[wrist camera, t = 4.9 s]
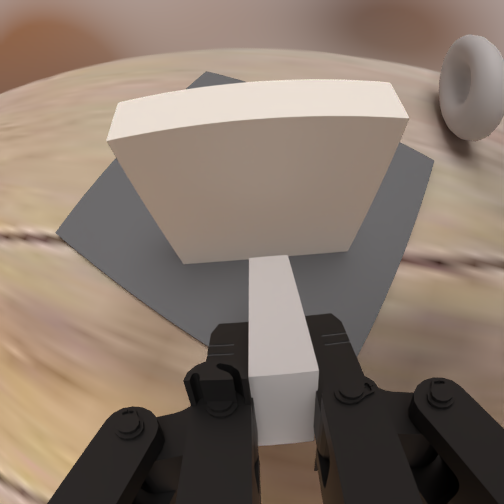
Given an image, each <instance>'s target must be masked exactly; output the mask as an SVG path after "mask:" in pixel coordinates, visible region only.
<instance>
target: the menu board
mask: <svg viewBox="0 0 504 504" xmlns="http://www.w3.org/2000/svg"><path fill="white" fill-rule="evenodd" d="M408 121H409V117H408V115H407V113H406V111H405V109H404V107H403V105H402V103H401V101H400V100H399V98H398V96H397V94H396V92H395V91H394V89H393V87H392V85H391V84H390V83H389V82H377V81H361V80H331V79H304V80H274V81H257V82H244V83H233V84H224V85H215V86H207V87H199V88H192V89H186V90H179V91H173V92H167V93H162V94H156V95H151V96H146V97H141V98H137V99H132V100H127V101H123V102H119V103H118V105H117V108H116V111H115V114H114V117H113V121H112V124H111V127H110V130H109V134H108V137H107V140H106V141H107V143H108V145H109V146H110V148H111V150H112V151H113V153H114V155H115V157H116V158H117V160H118V162H119V163H120V165H121V167H122V168H123V170H124V172H125V173H126V175H127V177H128V178H129V180H130V182H131V183H132V185H133V186H134V188H135V190H136V191H137V193H138V195H139V196H140V198H141V199H142V201H143V203H144V204H145V206H146V207H147V209H148V211H149V212H150V214H151V215H152V217H153V218H154V220H155V222H156V223H157V225H158V226H159V228H160V229H161V231H162V232H163V234H164V235H165V237H166V239H167V240H168V242H169V243H170V245H171V246H172V248H173V249H174V251H175V252H176V254H177V255H178V257H179V258H180V260H181V261H182V263H183V264H194V263H207V262H220V261H233V260H246V259H249V258H254V257H267V256H279V255H288V256H296V255H309V254H321V253H333V252H345V251H348V250H349V248H350V246H351V244H352V242H353V240H354V238H355V236H356V234H357V232H358V230H359V228H360V226H361V224H362V222H363V220H364V218H365V216H366V214H367V212H368V210H369V208H370V206H371V204H372V202H373V200H374V198H375V195H376V193H377V191H378V189H379V187H380V185H381V183H382V180H383V178H384V176H385V174H386V172H387V170H388V167H389V165H390V163H391V161H392V158H393V156H394V154H395V151H396V149H397V147H398V145H399V142H400V140H401V137H402V135H403V133H404V130H405V128H406V126H407V123H408Z"/></svg>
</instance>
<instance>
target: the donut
mask: <svg viewBox="0 0 504 504" xmlns="http://www.w3.org/2000/svg"><path fill="white" fill-rule="evenodd" d="M439 101H440V108H441V112H442V116H443V118H444V120H445V122H446V124H447V126H448V128H449V129H450V130H451V131H452V132H453V133H454V134H455V135H456V136H457V137H459V138H461V139H463V140H469V141H478V140H481V139H483V138H485V137H487V136H489V135H490V134H491V133H492V132H493V131H494V130H495V128H496V127H497V126H498V125H499V124H500V121H501V119H502V117H503V115H504V59H503V57H502V55H501V53H500V52H499V50H498V49H497V48H496V47H495V46H494V45H493V44H492V43H491V42H490V41H489V40H487V39H486V38H484V37H481V36H477V35H465V36H463V37H461V38H459V39H458V40H456V41H455V42H454V43H453V45H452V46H451V47H450V49H449V51H448V53H447V55H446V57H445V59H444V62H443V65H442V69H441V74H440V80H439Z"/></svg>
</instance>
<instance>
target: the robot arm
mask: <svg viewBox="0 0 504 504" xmlns="http://www.w3.org/2000/svg"><path fill="white" fill-rule="evenodd" d="M183 381H184V384H185V387H186V391H187V394H188V397H189V400H190V403H191V406H190V407H188V408H187V409H185V410H183V411H180V412H177V413H174V414H170V415H165V416H160V417H155V415H154V414H153V413H152V412H151V411H149V410H147V409H145V408H143V407H128V408H123V409H121V410H119V411H117V412H115V413H113V414H112V415H111V416H110V417H109V418H108V419H107V420H106V421H105V423H104V424H103V425H102V427H101V428H100V430H99V431H98V432H97V434H96V435H95V437H94V438H93V439H92V441H91V442H90V444H89V445H88V446H87V448H86V449H85V451H84V452H83V453H82V455H81V456H80V458H79V459H78V460H77V462H76V463H75V465H74V466H73V468H72V469H71V470H70V472H69V473H68V475H67V476H66V478H65V479H64V480H63V482H62V483H61V485H60V486H59V488H58V489H57V490H56V492H55V493H54V495H53V496H52V498H51V499H50V500H49V502H48V503H47V504H261V490H260V462H259V455H258V446H266V445H279V444H290V443H300V442H308V441H314V434H315V438H316V444H317V451H316V459H315V468H314V471H318V474H319V480H320V486H321V493H322V499H323V504H504V429H503V428H502V427H501V426H500V425H499V424H498V423H497V422H496V421H495V420H494V419H493V418H492V417H491V416H490V415H489V414H488V413H487V412H486V411H485V410H484V409H483V408H482V407H481V406H480V405H479V404H478V403H477V402H476V401H475V400H474V399H473V398H472V397H471V396H470V395H469V394H468V393H467V392H466V391H465V390H464V389H463V388H462V387H461V386H459V385H458V384H456V383H455V382H453V381H452V380H448V379H445V378H430V379H427V380H424V381H423V382H421V383H420V384H419V385H417V387H416V389H415V391H414V393H406V392H391V391H385V390H382V389H379V388H378V387H377V385H376V384H375V383H374V381H372V380H370V379H369V378H367V377H365V376H364V374H363V372H362V369H361V367H360V364H359V362H358V359H357V357H356V355H355V352H354V350H353V347H352V345H351V343H350V340H349V338H348V335H347V334H346V331H345V328H344V326H343V324H342V321H340V320H339V319H338V318H337V317H335V316H334V315H333V314H332V313H328V314H319V315H309V316H305V315H304V312H303V308H302V304H301V301H300V297H299V293H298V290H297V286H296V283H295V279H294V275H293V272H292V268H291V265H290V261H289V258H288V255H279V256H267V257H254V258H249V322H239V323H223V324H218V326H217V327H216V328H215V329H214V331H213V332H212V333H211V336H210V342H209V348H208V356H207V360H206V362H203V363H201V364H199V365H196V366H195V367H194V368H192V369H191V370H190V371H189V372H188V373H187V375H186V377H185V379H184V380H183Z"/></svg>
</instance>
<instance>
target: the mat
mask: <svg viewBox="0 0 504 504" xmlns="http://www.w3.org/2000/svg"><path fill="white" fill-rule="evenodd" d="M244 82H245V81H241V80H238V79H234V78H230V77H227V76H223V75H219V74H215V73H211V72H207V71H206V72H205V73H204V74H203V75H201V76H200V77H199V78H198V79H197V80H196V81H194V82H193V83H192V84H191V85H190V86H189V87H188V88H186V89H192V88H199V87H207V86H215V85H224V84H233V83H244ZM186 89H185V90H186ZM433 163H434V160H432V159H431V158H429V157H427V156H425V155H423V154H421V153H420V152H418V151H416V150H414V149H412V148H410V147H408V146H406V145H404V144H402V143H400V142H399V145H398V147H397V149H396V151H395V154H394V156H393V158H392V161H391V163H390V165H389V167H388V170H387V172H386V174H385V176H384V178H383V180H382V183H381V185H380V187H379V189H378V191H377V193H376V195H375V198H374V200H373V202H372V204H371V206H370V208H369V210H368V212H367V214H366V216H365V218H364V220H363V222H362V224H361V226H360V228H359V230H358V232H357V234H356V236H355V238H354V240H353V242H352V244H351V246H350V248H349V250H348V251H345V252H333V253H321V254H309V255H296V256H288V258H289V261H290V265H291V268H292V272H293V275H294V279H295V283H296V286H297V290H298V293H299V297H300V301H301V304H302V308H303V312H304V315H305V316H309V315H319V314H328V313H332V314H333V315H334V316H335V317H337V318H338V319H339V320H340V321H342V324H343V326H344V328H345V331H346V334H347V335H348V338H349V340H350V343H351V345H352V347H353V350H354V352H355V355H356V357H357V356H358V354H359V352H360V350H361V348H362V346H363V344H364V342H365V340H366V338H367V336H368V334H369V332H370V330H371V328H372V326H373V324H374V322H375V319H376V317H377V315H378V313H379V311H380V309H381V306H382V304H383V302H384V300H385V297H386V295H387V293H388V290H389V288H390V286H391V283H392V281H393V279H394V276H395V274H396V271H397V269H398V266H399V264H400V261H401V259H402V256H403V254H404V251H405V248H406V246H407V243H408V240H409V238H410V235H411V232H412V229H413V227H414V224H415V221H416V218H417V215H418V212H419V209H420V206H421V203H422V200H423V197H424V194H425V191H426V187H427V184H428V181H429V177H430V174H431V170H432V167H433ZM56 234H57V235H59V236H60V237H61V238H62V239H63V240H64V241H66V242H67V243H68V244H69V245H70V246H72V247H73V248H74V249H75V250H76V251H78V252H79V253H80V254H81V255H82V256H84V257H85V258H86V259H87V260H89V261H90V262H91V263H92V264H94V265H95V266H96V267H97V268H99V269H100V270H101V271H102V272H104V273H105V274H106V275H108V276H109V277H110V278H111V279H113V280H114V281H115V282H117V283H118V284H119V285H121V286H122V287H123V288H125V289H126V290H127V291H129V292H130V293H131V294H133V295H134V296H135V297H137V298H138V299H140V300H141V301H142V302H144V303H145V304H146V305H148V306H149V307H151V308H152V309H153V310H155V311H156V312H158V313H159V314H161V315H162V316H163V317H165V318H166V319H168V320H169V321H171V322H172V323H174V324H175V325H176V326H178V327H179V328H181V329H182V330H184V331H185V332H187V333H188V334H190V335H191V336H193V337H194V338H196V339H197V340H199V341H201V342H202V343H204V344H205V345H207V346H208V347H209V342H210V336H211V333H212V332H213V331H214V329H215V328H216V327H217V326H218V324H223V323H239V322H249V259H246V260H233V261H220V262H207V263H194V264H183V263H182V261H181V260H180V258H179V257H178V255H177V254H176V252H175V251H174V249H173V248H172V246H171V245H170V243H169V242H168V240H167V239H166V237H165V235H164V234H163V232H162V231H161V229H160V228H159V226H158V225H157V223H156V222H155V220H154V218H153V217H152V215H151V214H150V212H149V211H148V209H147V207H146V206H145V204H144V203H143V201H142V199H141V198H140V196H139V195H138V193H137V191H136V190H135V188H134V186H133V185H132V183H131V182H130V180H129V178H128V177H127V175H126V173H125V172H124V170H123V168H122V167H121V165H120V163H119V162H118V160H117V158H116V159H115V160H114V161H113V162H112V163H111V164H110V165H109V167H108V168H107V169H106V170H105V171H104V172H103V173H102V175H101V176H100V177H99V178H98V179H97V180H96V182H95V183H94V184H93V185H92V186H91V188H90V189H89V190H88V191H87V192H86V194H85V195H84V196H83V197H82V199H81V200H80V201H79V202H78V204H77V205H76V206H75V207H74V209H73V210H72V211H71V213H70V214H69V215H68V217H67V218H66V219H65V221H64V222H63V223H62V225H61V226H60V227H59V229H58V230H57V231H56Z"/></svg>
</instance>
